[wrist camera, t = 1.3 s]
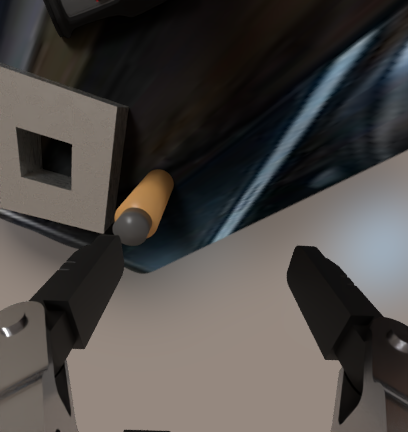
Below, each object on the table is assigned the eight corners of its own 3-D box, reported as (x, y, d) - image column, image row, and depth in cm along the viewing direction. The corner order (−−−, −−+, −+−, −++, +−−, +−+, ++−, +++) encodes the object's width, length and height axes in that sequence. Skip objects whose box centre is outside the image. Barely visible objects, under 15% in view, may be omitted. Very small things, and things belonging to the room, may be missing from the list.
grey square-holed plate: (-6, 60, 24) (-42, 52, 21) (128, 107, 26) (117, 106, 23) (12, 194, 32) (-12, 204, 29) (113, 221, 34) (103, 233, 31)
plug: (148, 165, 30) (108, 205, 18) (176, 174, 31) (157, 218, 18) (142, 191, 32) (104, 244, 20) (170, 199, 33) (148, 255, 20)
